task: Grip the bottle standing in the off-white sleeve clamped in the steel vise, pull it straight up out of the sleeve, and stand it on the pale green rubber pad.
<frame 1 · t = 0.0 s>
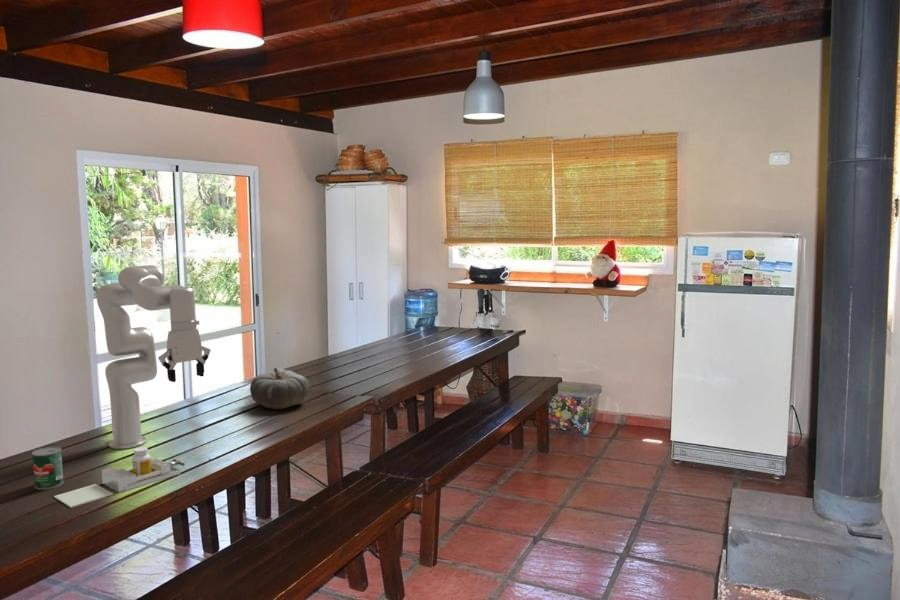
hand: (186, 378, 222), 31 cm above the table, fingers open, 9 cm apart
gourd: (281, 405, 305), on the table
canned tomato: (49, 485, 216), on the table
supplement bottle: (142, 479, 220), resting in vise
pad: (83, 496, 206), on the table
vise: (142, 478, 220), on the table
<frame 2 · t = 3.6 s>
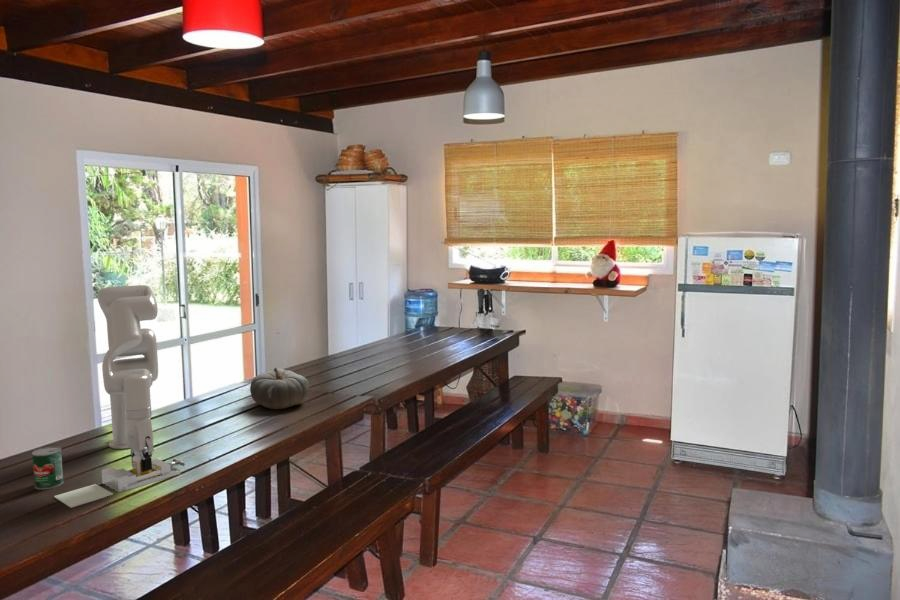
hand: (142, 467, 220), 4 cm above the table, fingers closed on supplement bottle, 5 cm apart
supplement bottle: (142, 478, 220), resting in vise, touching gripper
everything else where it was.
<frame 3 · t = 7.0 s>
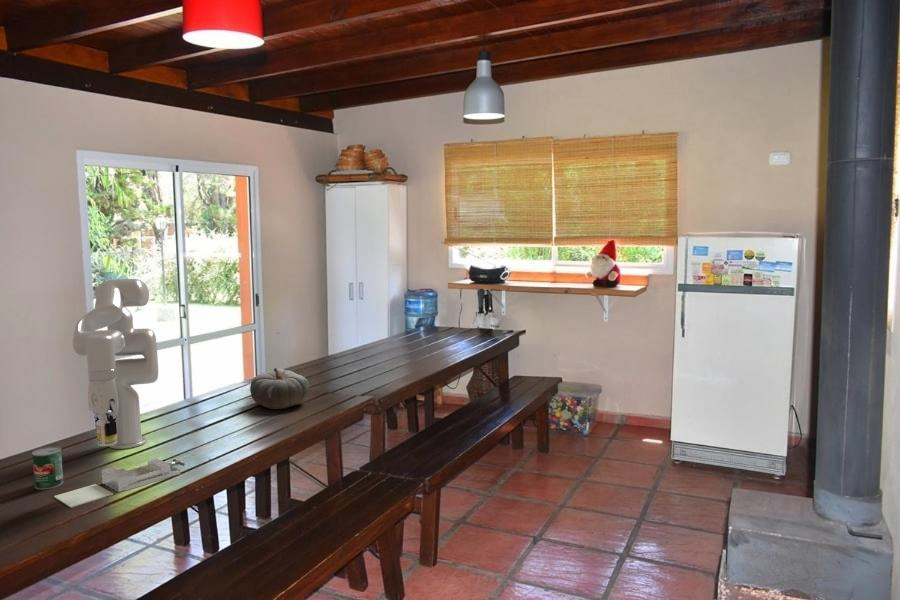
hand: (106, 432, 210), 18 cm above the table, fingers closed on supplement bottle, 5 cm apart
supplement bottle: (107, 444, 211), point 14 cm above the table, touching gripper
everything else where it was.
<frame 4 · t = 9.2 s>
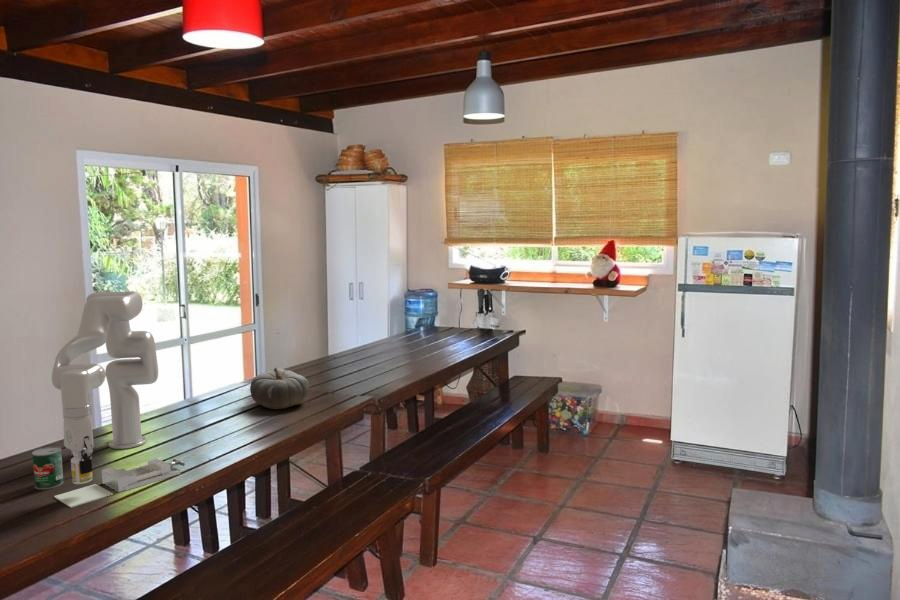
hand: (81, 469, 205), 8 cm above the table, fingers closed on supplement bottle, 5 cm apart
supplement bottle: (82, 481, 206), point 4 cm above the table, touching gripper
everything else where it was.
when the fingers open (5 cm above the table, at t = 10.7 s): supplement bottle drops 1 cm, resting on pad.
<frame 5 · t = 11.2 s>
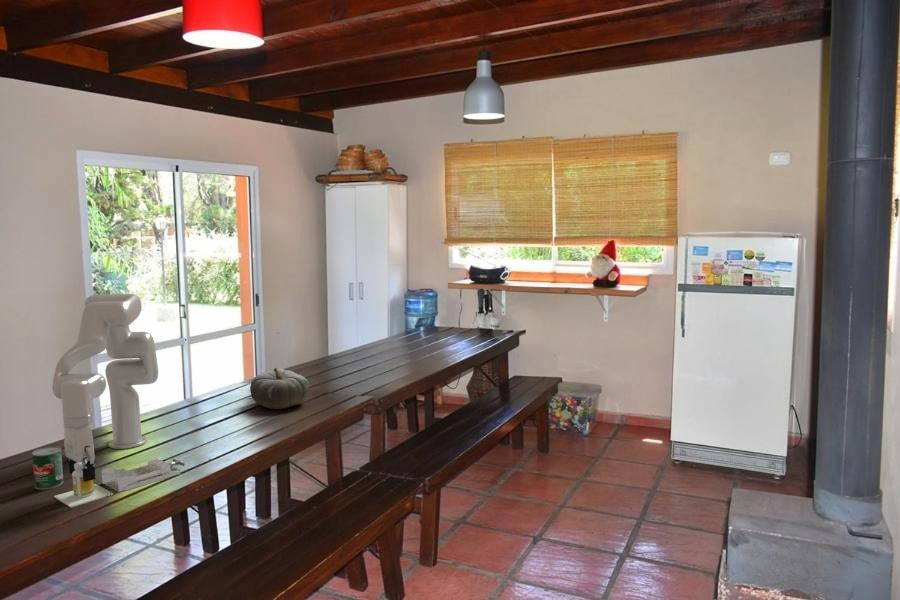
hand: (82, 476, 206), 6 cm above the table, fingers open, 9 cm apart
supplement bottle: (84, 495, 207), resting on pad
everything else where it was.
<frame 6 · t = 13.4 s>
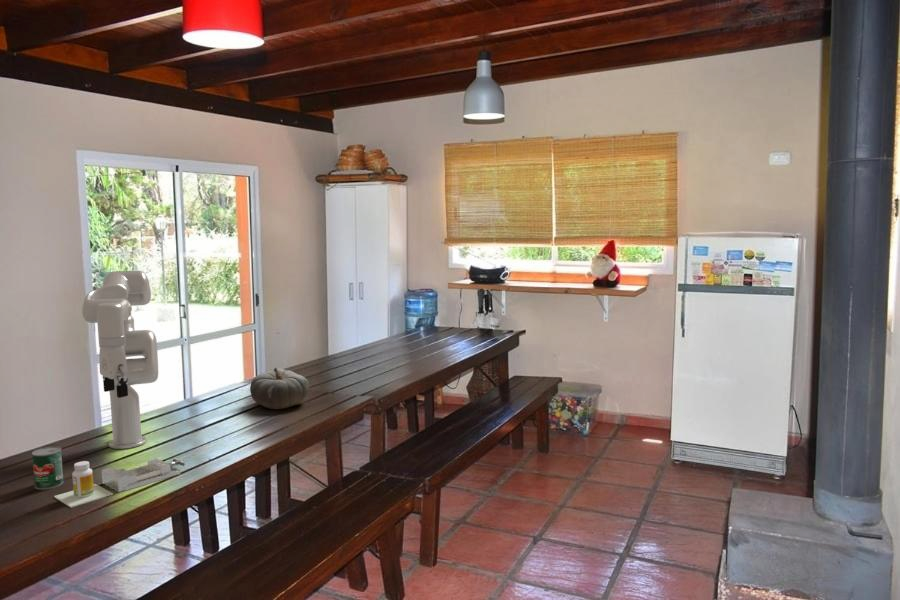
hand: (115, 393, 221), 27 cm above the table, fingers open, 9 cm apart
nothing on the table moved.
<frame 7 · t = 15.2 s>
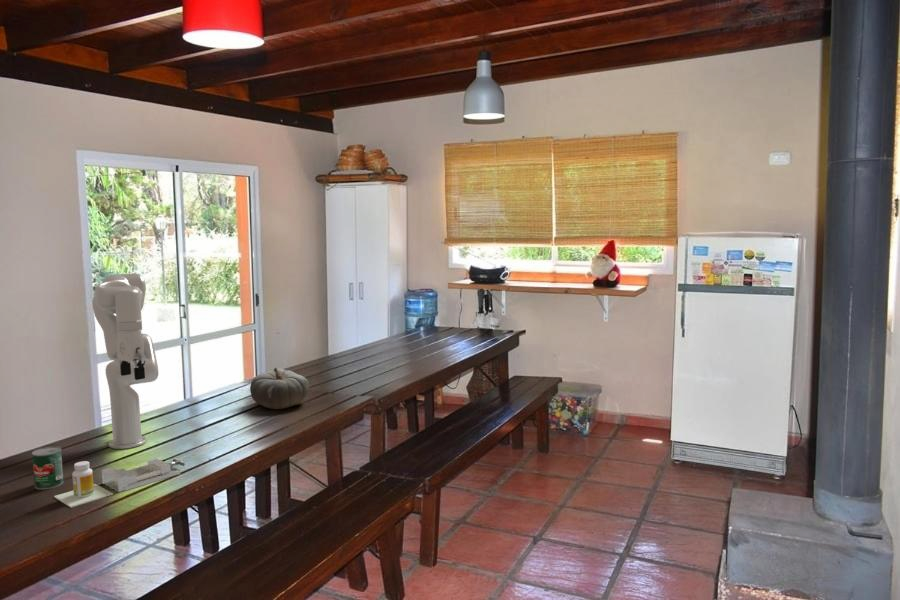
hand: (132, 377, 229), 30 cm above the table, fingers open, 9 cm apart
nothing on the table moved.
at the end: supplement bottle inside the target area on the pad (0.1 cm from its centre), point 0.2 cm above the pad's base; supplement bottle tilted 0°; the gripper is holding nothing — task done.
